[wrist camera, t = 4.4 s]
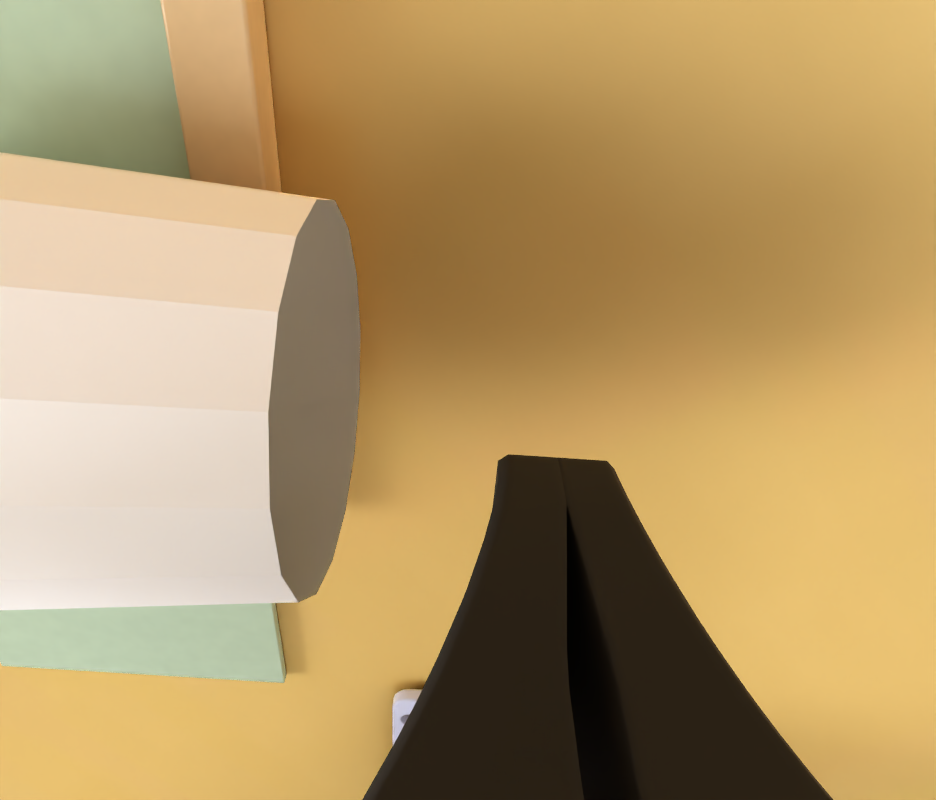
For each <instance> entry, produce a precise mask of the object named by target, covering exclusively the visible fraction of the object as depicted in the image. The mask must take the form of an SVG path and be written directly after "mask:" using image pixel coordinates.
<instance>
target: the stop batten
mask: <svg viewBox="0 0 936 800" xmlns="http://www.w3.org/2000/svg"><path fill="white" fill-rule="evenodd" d="M160 2H161V8H162V14H163V20H164V26H165V32H166V38H167V44H168V50H169V55H170V61H171V67H172V73H173V79H174V85H175V91H176V97H177V103H178V108H179V114H180V120H181V126H182V132H183V138H184V144H185V150H186V156H187V161H188V167H189V173H190V179H191V180H198V181H205V182H212V183H219V184H226V185H233V186H240V187H247V188H254V189H261V190H268V191H275V192H281V182H280V171H279V161H278V150H277V140H276V129H275V119H274V108H273V98H272V87H271V77H270V66H269V56H268V45H267V35H266V25H265V14H264V4H263V0H160Z"/></svg>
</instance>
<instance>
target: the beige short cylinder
mask: <svg viewBox="0 0 936 800" xmlns="http://www.w3.org/2000/svg"><path fill="white" fill-rule="evenodd" d="M359 391H360V317H359V301H358V285H357V273H356V268H355V262H354V257H353V251H352V246H351V240H350V235H349V229H348V227H347V225H346V223H345V220H344V218H343V216H342V214H341V212H340V210H339V208H338V206H337V204H336V201H335V200H331V199H324V198H317V197H310V196H303V195H296V194H289V193H282V192H275V191H268V190H261V189H254V188H247V187H240V186H233V185H226V184H219V183H212V182H205V181H198V180H191V179H184V178H177V177H170V176H163V175H156V174H149V173H142V172H135V171H128V170H121V169H114V168H107V167H100V166H93V165H86V164H79V163H72V162H65V161H58V160H51V159H44V158H37V157H30V156H23V155H16V154H9V153H2V152H0V610H35V609H72V608H109V607H146V606H182V605H219V604H256V603H293V602H300V601H302V600H304V599H306V598H309V597H311V596H313V595H315V594H317V591H318V589H319V587H320V585H321V583H322V581H323V579H324V577H325V575H326V573H327V571H328V568H329V566H330V564H331V562H332V560H333V556H334V553H335V549H336V545H337V541H338V537H339V533H340V529H341V526H342V522H343V518H344V514H345V510H346V504H347V497H348V491H349V484H350V478H351V472H352V465H353V459H354V452H355V440H356V428H357V416H358V404H359Z"/></svg>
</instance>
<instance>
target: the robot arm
mask: <svg viewBox="0 0 936 800" xmlns="http://www.w3.org/2000/svg"><path fill="white" fill-rule="evenodd" d="M392 716H393V747H392V749H391V750H390V752H389V754H388V756H387V757H386V759H385V761H384V763H383V764H382V766H381V768H380V770H379V772H378V773H377V775H376V777H375V779H374V780H373V782H372V784H371V786H370V787H369V789H368V791H367V793H366V794H365V796H364V798H363V800H833V799H832V798H831V797H830V795H829V794H828V793H827V792H826V791H825V789H824V788H823V787H822V786H821V785H820V784H819V782H818V781H817V780H816V779H815V778H814V776H813V775H812V774H811V773H810V772H809V770H808V769H807V768H806V767H805V765H804V764H803V763H802V762H801V760H800V759H799V758H798V756H797V755H796V754H795V753H794V751H793V750H792V749H791V748H790V746H789V745H788V744H787V743H786V741H785V740H784V739H783V738H782V736H781V735H780V734H779V733H778V731H777V730H776V729H775V727H774V726H773V725H772V723H771V722H770V721H769V719H768V718H767V717H766V715H765V714H764V713H763V711H762V710H761V709H760V707H759V706H758V705H757V703H756V702H755V701H754V699H753V698H752V697H751V695H750V694H749V692H748V691H747V690H746V688H745V687H744V686H743V684H742V683H741V681H740V680H739V678H738V677H737V676H736V674H735V673H734V671H733V670H732V668H731V667H730V665H729V664H728V663H727V661H726V660H725V658H724V657H723V655H722V654H721V653H720V651H719V650H718V648H717V647H716V645H715V644H714V642H713V641H712V639H711V638H710V636H709V635H708V633H707V632H706V630H705V629H704V627H703V626H702V624H701V623H700V621H699V620H698V618H697V616H696V615H695V613H694V612H693V610H692V608H691V607H690V605H689V603H688V602H687V600H686V599H685V597H684V595H683V594H682V592H681V591H680V589H679V587H678V586H677V584H676V582H675V581H674V579H673V578H672V576H671V574H670V573H669V571H668V569H667V568H666V566H665V564H664V563H663V561H662V559H661V557H660V556H659V554H658V552H657V551H656V549H655V547H654V545H653V543H652V542H651V540H650V538H649V536H648V534H647V533H646V531H645V529H644V527H643V525H642V523H641V522H640V520H639V518H638V516H637V514H636V512H635V510H634V508H633V506H632V504H631V503H630V501H629V499H628V497H627V495H626V493H625V491H624V489H623V487H622V485H621V482H620V480H619V478H618V476H617V474H616V472H615V470H614V468H613V467H612V466H611V465H610V464H609V463H608V462H607V461H599V460H584V459H568V458H553V457H538V456H523V455H507V456H505V457H504V458H502V459H500V460H499V461H498V466H497V475H496V484H495V493H494V501H493V508H492V513H491V517H490V520H489V524H488V527H487V531H486V535H485V538H484V541H483V544H482V547H481V550H480V553H479V556H478V559H477V562H476V564H475V567H474V570H473V573H472V576H471V579H470V582H469V584H468V587H467V590H466V593H465V595H464V598H463V600H462V603H461V605H460V607H459V610H458V612H457V614H456V617H455V619H454V621H453V623H452V626H451V628H450V630H449V633H448V635H447V637H446V640H445V642H444V644H443V647H442V649H441V651H440V653H439V656H438V658H437V660H436V662H435V664H434V666H433V669H432V671H431V673H430V675H429V677H428V679H427V681H426V683H425V685H424V687H423V689H404V690H401V691H399V692H397V693H396V694H395V696H394V699H393V707H392Z"/></svg>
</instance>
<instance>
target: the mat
mask: <svg viewBox="0 0 936 800" xmlns="http://www.w3.org/2000/svg"><path fill="white" fill-rule="evenodd" d="M0 152H2V153H9V154H16V155H23V156H30V157H37V158H44V159H51V160H58V161H65V162H72V163H79V164H86V165H93V166H100V167H107V168H114V169H121V170H128V171H135V172H142V173H149V174H156V175H163V176H170V177H177V178H184V179H190V173H189V167H188V161H187V156H186V150H185V144H184V138H183V132H182V126H181V120H180V114H179V108H178V103H177V97H176V91H175V85H174V79H173V73H172V67H171V61H170V55H169V50H168V44H167V38H166V32H165V26H164V20H163V14H162V8H161V2H160V0H0ZM0 663H1V664H2V666H14V667H31V668H47V669H64V670H80V671H97V672H113V673H130V674H146V675H163V676H179V677H196V678H212V679H229V680H245V681H262V682H278V683H284V682H285V678H286V669H285V663H284V656H283V650H282V643H281V636H280V630H279V623H278V617H277V610H276V604H275V603H256V604H219V605H182V606H146V607H109V608H72V609H35V610H0Z"/></svg>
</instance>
